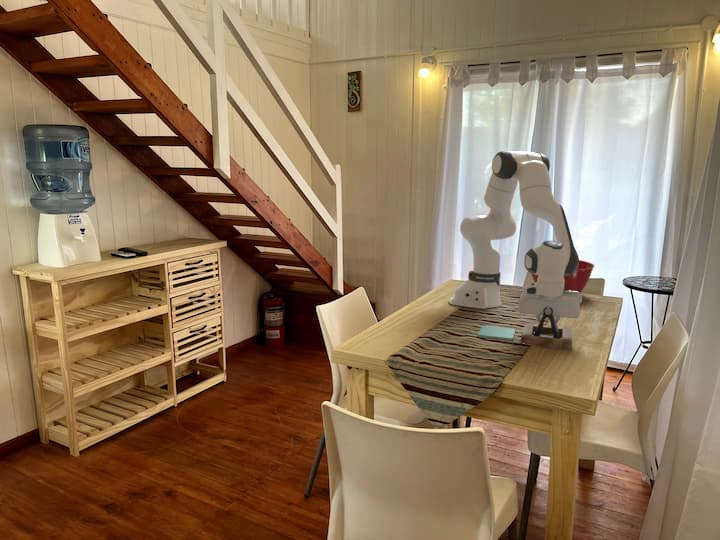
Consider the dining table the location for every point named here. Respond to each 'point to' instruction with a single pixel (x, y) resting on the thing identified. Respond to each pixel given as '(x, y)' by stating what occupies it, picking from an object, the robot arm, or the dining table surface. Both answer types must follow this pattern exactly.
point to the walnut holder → (546, 341)
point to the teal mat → (497, 332)
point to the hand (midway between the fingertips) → (547, 327)
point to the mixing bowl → (576, 277)
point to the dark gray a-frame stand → (553, 326)
